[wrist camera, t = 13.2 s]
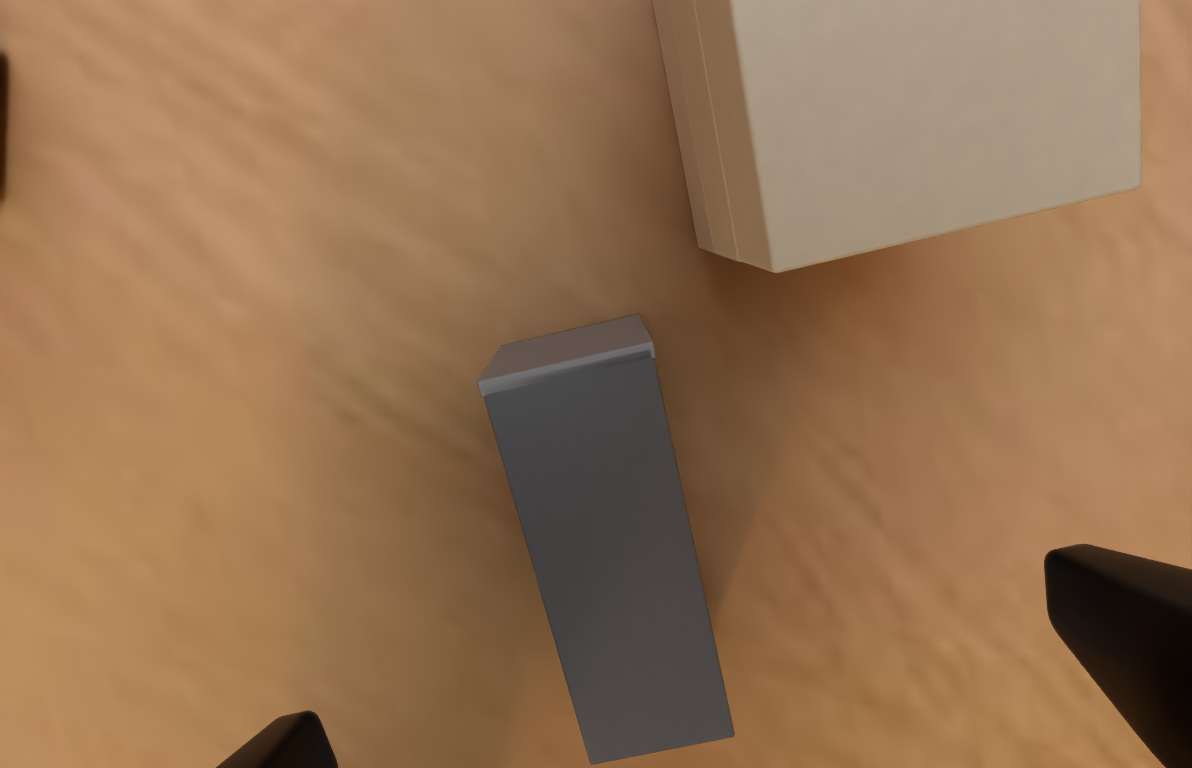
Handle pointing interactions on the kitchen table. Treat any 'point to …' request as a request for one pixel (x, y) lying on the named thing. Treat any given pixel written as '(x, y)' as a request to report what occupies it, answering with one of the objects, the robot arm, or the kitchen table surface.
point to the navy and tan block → (696, 125)
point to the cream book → (915, 116)
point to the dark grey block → (609, 536)
